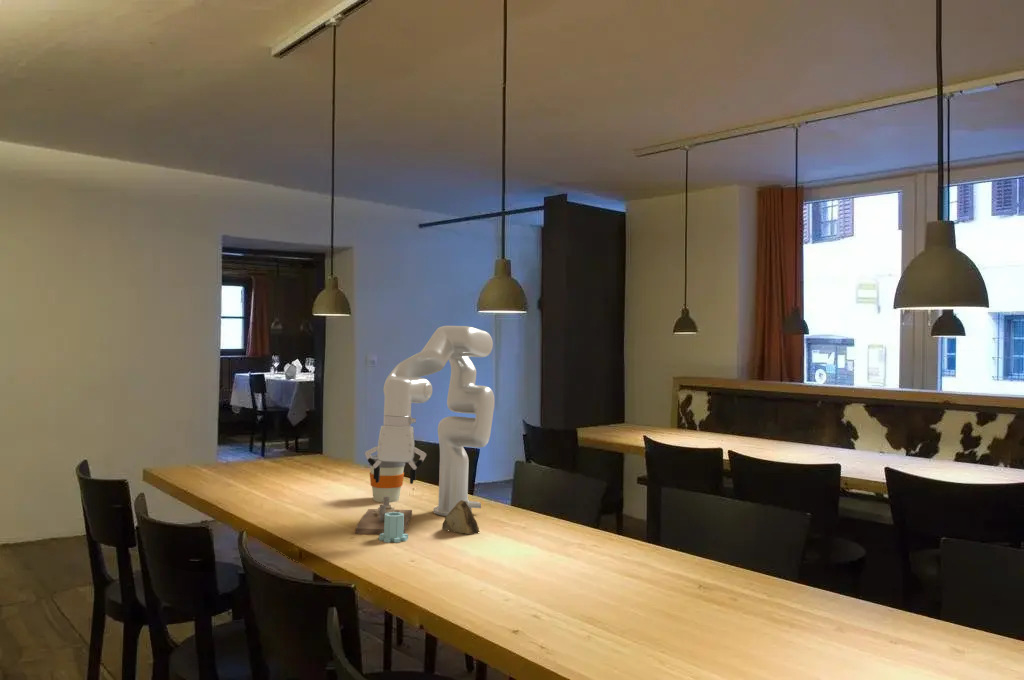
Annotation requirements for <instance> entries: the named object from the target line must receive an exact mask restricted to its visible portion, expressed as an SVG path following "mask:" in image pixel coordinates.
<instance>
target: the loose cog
mask: <svg viewBox="0 0 1024 680" xmlns="http://www.w3.org/2000/svg"><path fill="white" fill-rule="evenodd" d="M403 527H404V513H400V512H389V513H385V519H384V533H382V534H379V535H378V540H379V541H380V542H382V541H383V543H388V544H390V543H392V542H393V543H395V544H397V543H401V542H406V541H408V539H409V534H408V533H405V534H403Z"/></svg>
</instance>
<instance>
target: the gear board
mask: <svg viewBox="0 0 1024 680" xmlns="http://www.w3.org/2000/svg"><path fill="white" fill-rule="evenodd" d="M382 503H383V504H379V507H378V508H368V509H367V510H366V512H365V514H363V517H362V518H361V520H360V521H359V523H358V524H357V525H356V527H355V532H354V533H355V535H356V534H358V535H362V534H363V535H366V534H367V535H380V534H382V533H384V519H385V513H389V512H400V513H404V527H403V534H406V530H407V528H408V525H409V523H410V521H411V518H412V515H413V510H412V509H395V507H393V506H392V504H390V502H389V497H383V502H382Z"/></svg>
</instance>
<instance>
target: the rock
mask: <svg viewBox="0 0 1024 680" xmlns="http://www.w3.org/2000/svg"><path fill="white" fill-rule="evenodd" d="M441 530H442V531H443V530H444V531H447V530H449V531H448V532H451V531H455V532H454V533H456V532H459V533H458V534H462V533H465V534H464V535H475V534H474V533H477V534H479V533H478V532H480V528H479V525H478V522H477V520H476V519H475V517H474V514H473V511H472V512H471V510H470V508H469V506H468V505H467V503H466V502H465V501H462V500H461V501H460V502H458V503H457V504H456V505H455V507H454V508H453V509H452V510H451V511H450V512H449V514H448V515H447V516H444V520H443V523H442V525H441ZM480 533H481V532H480Z"/></svg>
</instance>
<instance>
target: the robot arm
mask: <svg viewBox="0 0 1024 680" xmlns="http://www.w3.org/2000/svg"><path fill="white" fill-rule="evenodd" d="M493 342H494V340H493V338H492V336H491V335H490V333H489V332H488V331H485V330H482V329H480V328H476V327H473V326H467V325H443V326H440V327H437V329H436V330H435V331H434V332H433V333H432V335H431V337H430V338H429V340H428V341H427V343H426V344H425V345H424V347H423V348H422V349H421V351H419V352H417V353H416V354H415V353H414V354H413V355H412V356H409V357H408V358H406V359H403V360H402V361H401V362H400V363H398V364H397V365H395V367H394V368H393V369H392V370H391V372H389V374H388V375H387V377H386V379H385V382H384V383H383V384H384V385H383V395H384V402H383V403H384V406H383V425H381V426H380V430H379V435H378V441H377V442H378V443H377V446H375V447H374V446H373V447H372V448H370V449H368V450H366V451H365V452H364V455H365V458H366V459H367V463H370V464H371V465H372V466H373V468H374V479H376V483H378V482H379V480H380V468H379V464H380V463H381V462H400V463H405V464H406V463H408V465H409V466H410V474H409V475H410V476H409V484H410V485H413V484H414V481H416V480H417V479H416V478H417V469H418V468H419V467H420V466H421V465H422V464H423V462H424V460H426V457H427V453H426V452H425V451H422V450H421V449H419V448H417V447H415V432H414V431H415V430H414V427H413V426H411V425H412V424H416V419H417V418H414V417H412V404H423V403H426V402H427V401H429V400H430V398H431V397H432V395H433V385H432V383H431V382H430V381H429V380H428V379H427V378H424V377H426V376H429V375H432V374H435V373H438V372H440V371H441V370H443V369H444V367H445V366H446V364H447V363H448V361H449V365H450V379H449V385H448V391H447V399H446V400H447V401H446V405H447V408H448V409H449V411H451V412H453V413H459V414H468V415H475V417H466V416H456V415H454V416H452V415H451V416H446V417H443V418H442V419H441V420H440V421H439V423H438V426H437V437H438V443H439V445H438V446H439V475H438V477H439V482H438V501H437V503H438V504H437V505H438V506H435V507H434V508H433V513H434V514H436V515H438V516H443V517H446V516H447V515H448V514H449V512H450V511H451V510H452V509H453V508H454V507H455V505H456V504H457V503H458V502H460V501H461V500H462V501H465V502H466V503H467V505H468V506H469V508H470V510H471V512H472V513H473V509H481V508H482V502H481V501H480V502H479V501H476V500H475V501H471V500H469V496H468V493H469V462H470V460H469V456H468V454H467V451H466V450H465V448H464V447H467V448H477V449H478V448H484V447H486V446H487V445H488V443H489V441H490V438H491V432H492V427H493V426H492V423H493V418H494V410H495V402H496V401H495V400H496V399H495V394H494V392H493V389H492V388H490V387H489V386H487V385H476V381H477V369H476V366H475V364H474V363H473V361H472V360H471V358H485V357H488V356H489V355H490V354H491V353H492V351H493V347H494V344H493ZM374 453H377V454H376V455H377V459H378V460H377V461H376V462H375V461H374V459H373V458H372V457H371V456H372V454H374ZM415 454H417V455H418V456H420V458H419V459H418V460H417V461H415V460H414V459H415Z"/></svg>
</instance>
